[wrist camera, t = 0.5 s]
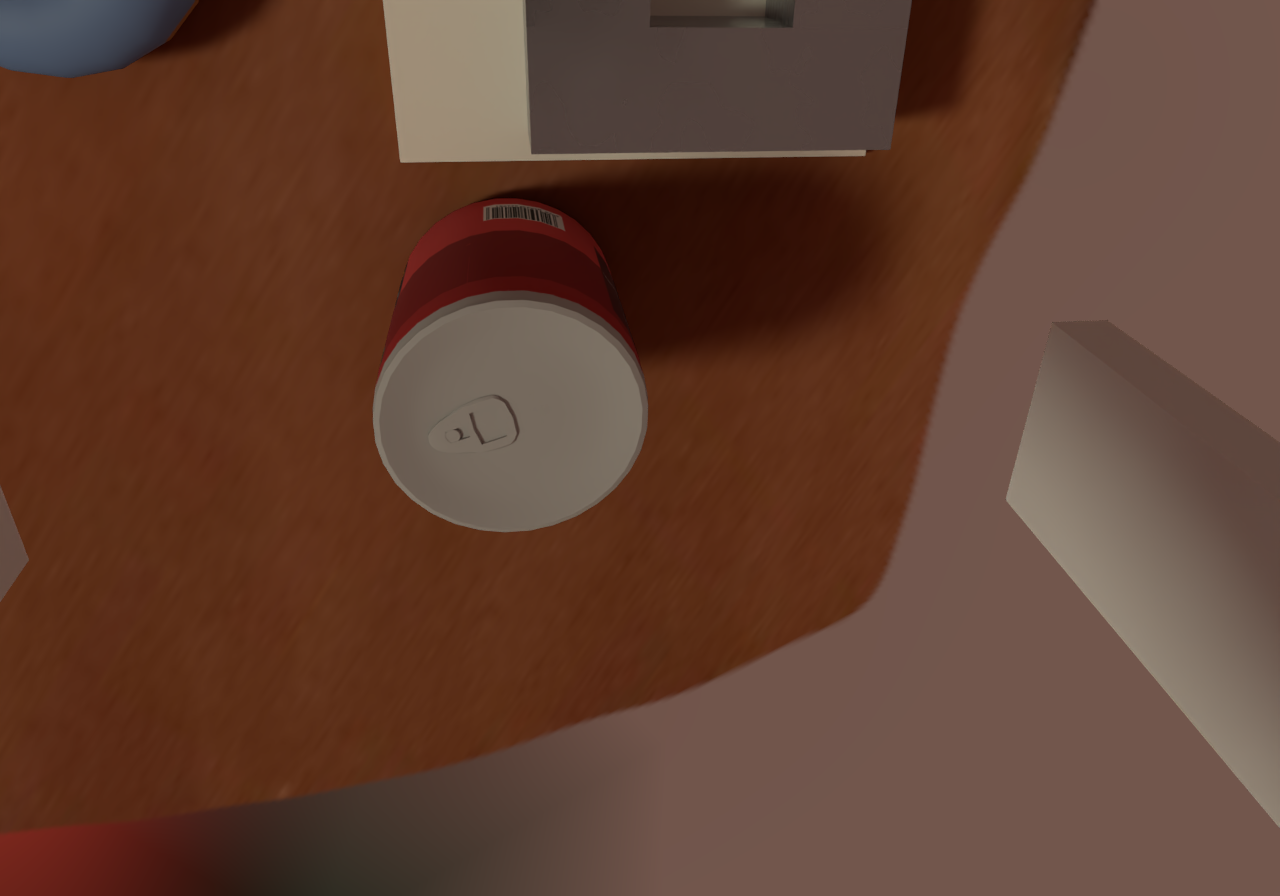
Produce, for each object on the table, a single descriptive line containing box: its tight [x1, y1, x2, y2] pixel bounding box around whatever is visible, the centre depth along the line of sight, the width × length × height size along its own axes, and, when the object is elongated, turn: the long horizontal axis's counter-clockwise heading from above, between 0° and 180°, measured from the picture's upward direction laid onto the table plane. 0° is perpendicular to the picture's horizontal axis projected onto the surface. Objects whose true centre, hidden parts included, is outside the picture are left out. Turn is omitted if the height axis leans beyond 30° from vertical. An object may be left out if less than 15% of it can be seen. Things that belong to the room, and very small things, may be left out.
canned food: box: [373, 198, 648, 532], centre depth 32 cm, size 8×8×11 cm
